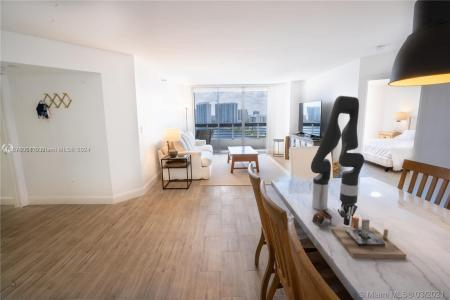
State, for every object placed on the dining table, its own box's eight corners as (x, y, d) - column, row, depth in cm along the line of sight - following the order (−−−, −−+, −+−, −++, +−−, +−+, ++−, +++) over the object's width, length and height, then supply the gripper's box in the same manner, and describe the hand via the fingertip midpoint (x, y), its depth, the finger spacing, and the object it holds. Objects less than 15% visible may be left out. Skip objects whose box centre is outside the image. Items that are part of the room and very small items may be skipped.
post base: (330, 230, 112) (331, 209, 111) (373, 230, 111) (375, 209, 109) (352, 257, 91) (354, 232, 89) (405, 258, 89) (408, 232, 87)
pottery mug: (312, 218, 128) (319, 207, 126) (326, 228, 123) (334, 217, 122) (309, 221, 118) (317, 209, 116) (324, 233, 113) (333, 221, 111)
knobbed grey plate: (341, 227, 111) (342, 215, 110) (364, 228, 110) (365, 216, 109) (358, 245, 95) (359, 232, 94) (385, 246, 94) (386, 232, 93)
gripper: (347, 197, 98) (345, 231, 100) (364, 192, 104) (361, 224, 106) (333, 192, 104) (331, 224, 107) (349, 187, 110) (347, 218, 113)
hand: (346, 224), depth 107 cm, fingers closed
